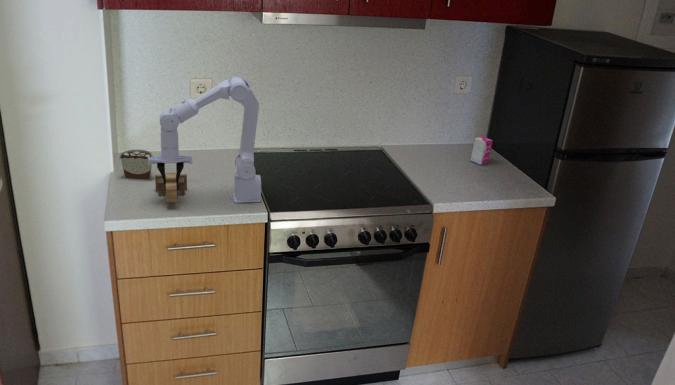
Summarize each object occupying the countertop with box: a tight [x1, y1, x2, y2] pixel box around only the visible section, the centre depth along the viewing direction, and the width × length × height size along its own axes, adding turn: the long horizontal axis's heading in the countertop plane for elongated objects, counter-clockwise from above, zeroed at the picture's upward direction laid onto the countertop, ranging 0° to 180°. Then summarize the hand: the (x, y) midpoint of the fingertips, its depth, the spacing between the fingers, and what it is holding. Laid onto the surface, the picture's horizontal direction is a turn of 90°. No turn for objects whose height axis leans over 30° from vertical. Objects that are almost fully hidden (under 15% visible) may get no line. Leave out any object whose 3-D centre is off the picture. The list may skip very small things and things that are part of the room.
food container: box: [118, 149, 154, 182], centre depth 225 cm, size 12×6×10 cm, turn 92°
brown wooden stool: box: [154, 173, 188, 197], centre depth 216 cm, size 11×5×6 cm, turn 105°
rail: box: [165, 172, 178, 203], centre depth 209 cm, size 14×4×5 cm, turn 15°
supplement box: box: [469, 136, 494, 166], centre depth 268 cm, size 6×6×12 cm
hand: (171, 182), depth 208 cm, fingers closed on rail, 3 cm apart
